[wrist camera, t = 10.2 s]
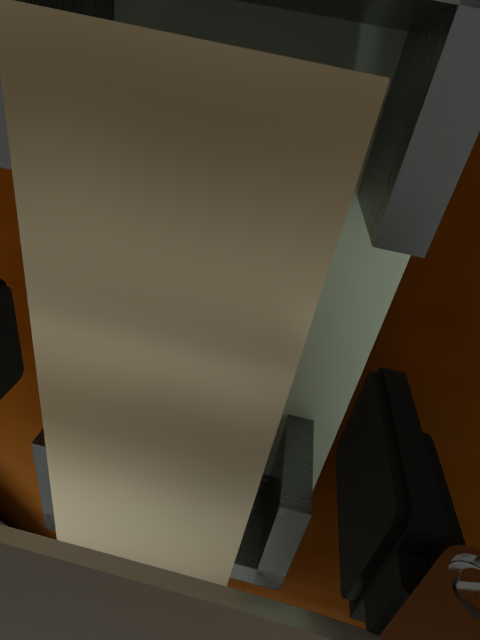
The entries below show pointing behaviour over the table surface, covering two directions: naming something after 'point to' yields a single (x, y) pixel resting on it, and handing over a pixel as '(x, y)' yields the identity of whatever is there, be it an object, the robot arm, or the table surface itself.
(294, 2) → the end caps
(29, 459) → the table surface
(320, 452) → the base board
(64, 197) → the beige long block
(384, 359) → the table surface
